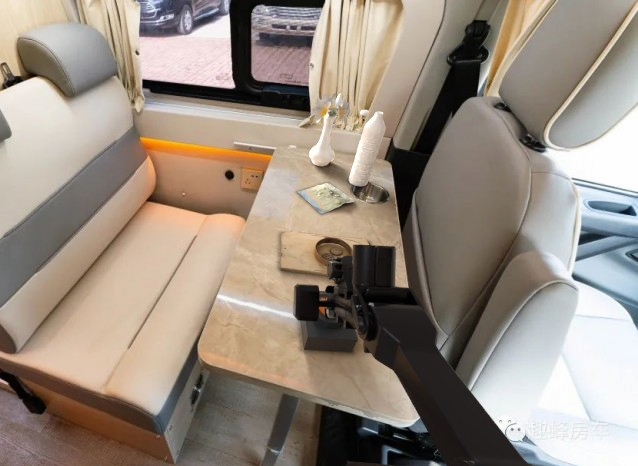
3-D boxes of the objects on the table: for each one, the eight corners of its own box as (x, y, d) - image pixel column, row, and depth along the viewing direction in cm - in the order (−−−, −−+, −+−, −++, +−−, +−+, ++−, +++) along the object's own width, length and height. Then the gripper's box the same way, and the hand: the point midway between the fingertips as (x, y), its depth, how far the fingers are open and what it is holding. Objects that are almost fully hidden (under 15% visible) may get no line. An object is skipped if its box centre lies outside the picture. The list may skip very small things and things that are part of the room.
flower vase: (338, 153, 132) (355, 89, 115) (334, 176, 119) (351, 107, 103) (306, 148, 136) (317, 85, 119) (298, 170, 123) (309, 102, 106)
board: (368, 240, 94) (372, 232, 92) (379, 281, 83) (383, 273, 80) (280, 232, 97) (282, 224, 94) (279, 271, 85) (281, 262, 83)
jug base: (351, 352, 69) (361, 334, 64) (303, 349, 69) (309, 331, 64) (340, 305, 77) (347, 286, 73) (297, 302, 78) (302, 284, 73)
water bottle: (366, 178, 118) (389, 109, 102) (368, 187, 114) (392, 117, 97) (341, 175, 120) (360, 106, 103) (342, 184, 115) (361, 114, 99)
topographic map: (328, 182, 116) (329, 178, 115) (355, 202, 107) (356, 198, 106) (296, 193, 113) (297, 189, 112) (321, 214, 103) (321, 210, 102)
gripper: (428, 262, 50) (383, 259, 65) (303, 256, 51) (288, 255, 66) (427, 336, 49) (382, 315, 65) (301, 329, 50) (287, 310, 66)
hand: (334, 297), depth 65 cm, fingers closed
